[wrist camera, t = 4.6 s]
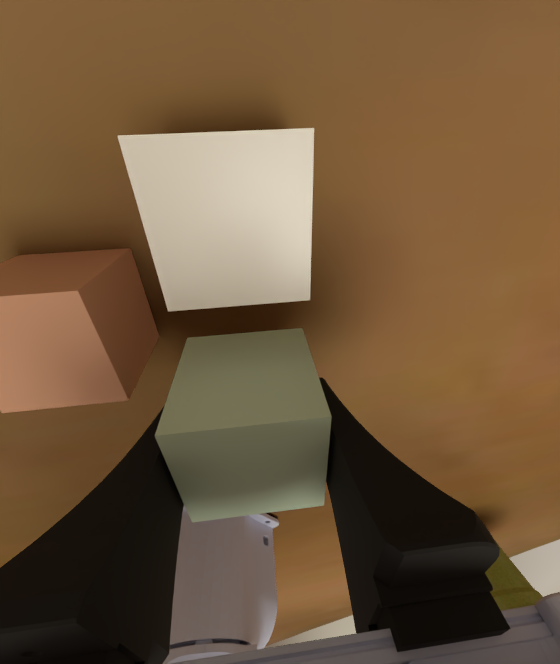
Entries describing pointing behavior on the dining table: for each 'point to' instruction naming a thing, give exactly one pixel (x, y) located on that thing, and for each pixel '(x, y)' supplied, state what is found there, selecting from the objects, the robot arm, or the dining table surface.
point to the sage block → (246, 425)
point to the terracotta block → (72, 329)
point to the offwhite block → (226, 214)
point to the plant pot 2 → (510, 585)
